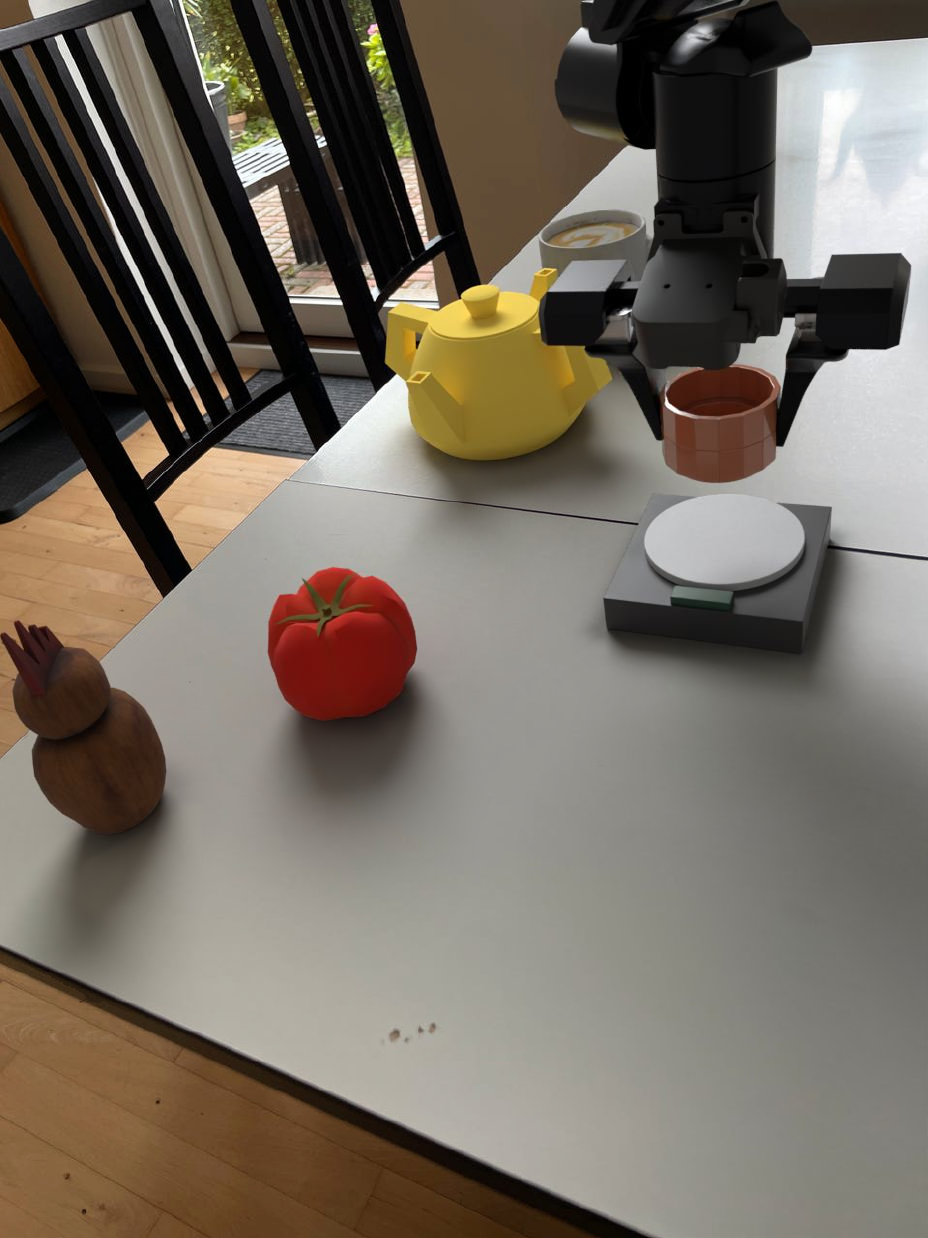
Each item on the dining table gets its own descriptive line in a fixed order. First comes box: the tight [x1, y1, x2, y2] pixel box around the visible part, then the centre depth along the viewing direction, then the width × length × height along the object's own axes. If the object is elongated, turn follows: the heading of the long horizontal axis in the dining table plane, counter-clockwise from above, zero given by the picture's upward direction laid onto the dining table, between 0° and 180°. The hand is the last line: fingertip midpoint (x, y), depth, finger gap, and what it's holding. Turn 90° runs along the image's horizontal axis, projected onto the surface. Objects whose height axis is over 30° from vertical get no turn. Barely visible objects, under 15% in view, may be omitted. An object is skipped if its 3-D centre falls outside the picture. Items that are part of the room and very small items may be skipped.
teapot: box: [384, 268, 613, 461], centre depth 84 cm, size 17×17×12 cm
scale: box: [602, 493, 833, 655], centre depth 65 cm, size 12×12×3 cm
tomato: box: [267, 566, 418, 721], centre depth 61 cm, size 9×9×8 cm
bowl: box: [659, 363, 782, 484], centre depth 58 cm, size 7×7×4 cm
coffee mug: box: [538, 208, 654, 281], centre depth 95 cm, size 13×10×10 cm
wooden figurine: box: [0, 619, 167, 835], centre depth 54 cm, size 7×6×15 cm
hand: (719, 440), depth 59 cm, fingers closed on bowl, 7 cm apart
